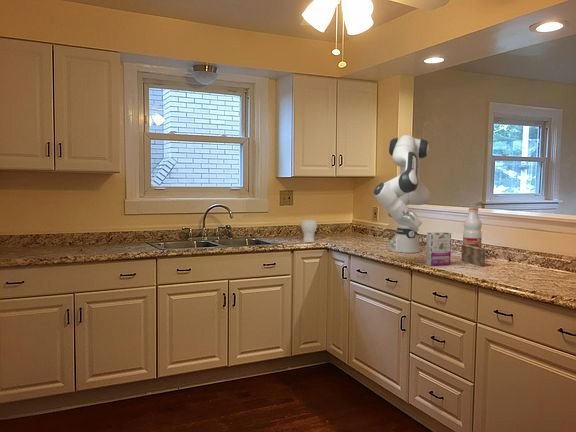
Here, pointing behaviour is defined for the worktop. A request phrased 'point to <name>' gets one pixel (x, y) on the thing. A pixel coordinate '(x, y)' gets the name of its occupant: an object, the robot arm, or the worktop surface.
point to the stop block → (473, 255)
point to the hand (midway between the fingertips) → (416, 230)
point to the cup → (308, 230)
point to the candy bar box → (438, 248)
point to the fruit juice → (472, 229)
